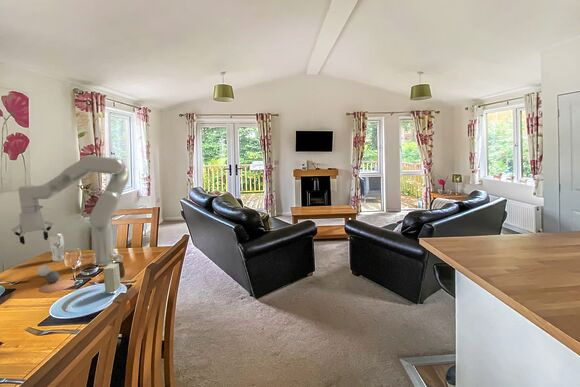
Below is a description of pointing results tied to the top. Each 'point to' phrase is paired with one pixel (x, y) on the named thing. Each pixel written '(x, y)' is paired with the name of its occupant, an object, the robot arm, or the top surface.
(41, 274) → the cue ball
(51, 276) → the object ball
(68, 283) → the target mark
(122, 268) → the utensil holder
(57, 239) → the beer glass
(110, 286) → the skincare box
